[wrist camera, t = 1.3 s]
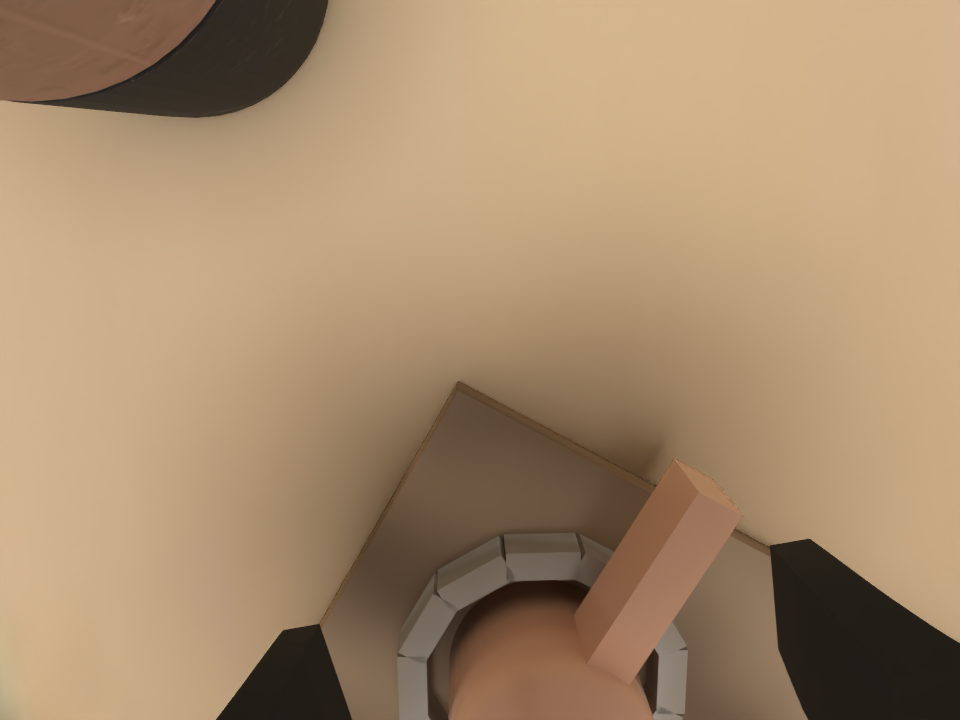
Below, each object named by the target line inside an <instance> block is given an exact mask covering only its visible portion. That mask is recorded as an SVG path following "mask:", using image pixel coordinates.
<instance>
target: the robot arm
mask: <svg viewBox="0 0 960 720" xmlns="http://www.w3.org/2000/svg"><path fill="white" fill-rule="evenodd" d="M770 554H771V566H772V579H773V591H774V603H775V616H776V628H777V640H778V650H779V652H780V655H781V657H782V660H783V662H784V665H785V667H786V670H787V673H788V675H789V678H790V680H791V683H792V685H793V687H794V690H795V692H796V695H797V697H798V699H799V702H800V704H801V707H802V709H803V711H804V713H805V715H806V717H807V719H808V720H960V643H958V642H957V641H955V640H953V639H952V638H950V637H948V636H947V635H945V634H944V633H942V632H940V631H939V630H937V629H936V628H934V627H933V626H931V625H930V624H928V623H927V622H925V621H924V620H922V619H921V618H919V617H918V616H916V615H915V614H913V613H912V612H910V611H909V610H907V609H906V608H905V607H903V606H902V605H900V604H899V603H897V602H896V601H894V600H893V599H891V598H890V597H889V596H887V595H886V594H884V593H883V592H882V591H880V590H879V589H877V588H876V587H875V586H873V585H872V584H870V583H869V582H868V581H866V580H865V579H864V578H862V577H861V576H859V575H858V574H857V573H855V572H854V571H853V570H851V569H850V568H849V567H847V566H846V565H845V564H843V563H842V562H841V561H839V560H838V559H837V558H835V557H834V556H833V555H831V554H830V553H829V552H827V551H826V550H824V549H823V548H822V547H820V546H819V545H818V544H816V543H815V542H813V541H812V540H811V539H805V540H799V541H793V542H788V543H782V544H776V545H770ZM216 720H352V717H351V715H350V712H349V709H348V706H347V703H346V700H345V697H344V694H343V691H342V688H341V685H340V682H339V679H338V676H337V674H336V671H335V668H334V665H333V662H332V659H331V656H330V653H329V650H328V647H327V644H326V641H325V638H324V635H323V633H322V630H321V627H320V624H317V625H311V626H305V627H300V628H294V629H288V630H283V631H282V632H281V634H280V635H279V636H278V638H277V639H276V640H275V641H274V643H273V644H272V645H271V647H270V648H269V650H268V651H267V652H266V654H265V655H264V656H263V658H262V659H261V660H260V662H259V663H258V664H257V666H256V667H255V668H254V670H253V671H252V673H251V674H250V675H249V677H248V678H247V679H246V681H245V682H244V683H243V685H242V686H241V687H240V689H239V690H238V691H237V693H236V694H235V695H234V697H233V698H232V699H231V701H230V702H229V703H228V705H227V706H226V707H225V709H224V710H223V711H222V712H221V714H220V715H219V716H218V718H217V719H216Z"/></svg>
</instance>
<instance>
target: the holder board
mask: <svg viewBox="0 0 960 720" xmlns="http://www.w3.org/2000/svg"><path fill="white" fill-rule="evenodd" d="M655 488H656V487H655V486H653V485H651V484H650V483H648V482H646V481H644V480H642V479H640V478H638V477H636V476H635V475H633V474H631V473H629V472H627V471H625V470H623V469H622V468H620V467H618V466H616V465H614V464H612V463H610V462H608V461H607V460H605V459H603V458H601V457H599V456H597V455H595V454H594V453H592V452H590V451H588V450H586V449H584V448H582V447H580V446H579V445H577V444H575V443H573V442H571V441H569V440H567V439H566V438H564V437H562V436H560V435H558V434H556V433H554V432H552V431H551V430H549V429H547V428H545V427H543V426H541V425H539V424H538V423H536V422H534V421H532V420H530V419H528V418H526V417H524V416H523V415H521V414H519V413H517V412H515V411H513V410H511V409H510V408H508V407H506V406H504V405H502V404H500V403H498V402H496V401H495V400H493V399H491V398H489V397H487V396H485V395H483V394H482V393H480V392H478V391H476V390H474V389H472V388H470V387H468V386H467V385H465V384H463V383H461V382H459V381H458V383H457V384H456V386H455V388H454V390H453V391H452V393H451V395H450V397H449V398H448V400H447V402H446V404H445V405H444V407H443V409H442V411H441V412H440V414H439V416H438V418H437V419H436V421H435V423H434V425H433V426H432V428H431V430H430V432H429V433H428V435H427V437H426V439H425V440H424V442H423V444H422V446H421V447H420V449H419V451H418V453H417V454H416V456H415V458H414V460H413V461H412V463H411V465H410V467H409V468H408V470H407V472H406V474H405V475H404V477H403V479H402V481H401V482H400V484H399V486H398V488H397V489H396V491H395V493H394V495H393V496H392V498H391V500H390V502H389V503H388V505H387V507H386V509H385V510H384V512H383V514H382V516H381V517H380V519H379V521H378V523H377V524H376V526H375V528H374V530H373V531H372V533H371V535H370V537H369V538H368V540H367V542H366V544H365V545H364V547H363V549H362V551H361V552H360V554H359V556H358V558H357V559H356V561H355V563H354V565H353V566H352V568H351V570H350V572H349V573H348V575H347V577H346V579H345V580H344V582H343V584H342V586H341V587H340V589H339V591H338V593H337V594H336V596H335V598H334V600H333V601H332V603H331V605H330V607H329V608H328V610H327V612H326V614H325V615H324V617H323V619H322V621H321V622H320V627H321V630H322V633H323V635H324V638H325V641H326V644H327V647H328V650H329V653H330V656H331V659H332V662H333V665H334V668H335V671H336V674H337V676H338V679H339V682H340V685H341V688H342V691H343V694H344V697H345V700H346V703H347V706H348V709H349V712H350V715H351V717H352V720H448V709H449V666H450V650H451V645H452V641H453V638H454V635H455V632H456V630H457V628H458V626H459V625H460V623H461V621H462V620H463V618H464V617H465V615H466V614H467V613H468V612H469V611H470V610H471V608H472V607H473V606H474V605H475V604H477V603H478V602H479V601H480V600H481V599H483V598H484V597H485V596H487V595H488V594H490V593H492V592H493V591H495V590H497V589H499V588H502V587H504V586H506V585H509V584H512V583H515V582H520V581H538V580H557V581H563V582H567V583H570V584H573V585H576V586H578V587H581V588H583V589H585V590H587V591H588V592H589V591H590V589H591V588H592V586H593V585H594V583H595V581H596V580H597V578H598V577H599V575H600V574H601V572H602V571H603V569H604V567H605V566H606V564H607V563H608V561H609V560H610V558H611V557H612V555H613V553H614V552H615V550H616V549H617V547H618V546H619V544H620V543H621V541H622V539H623V538H624V536H625V535H626V533H627V532H628V530H629V529H630V527H631V525H632V524H633V522H634V521H635V519H636V518H637V516H638V515H639V513H640V511H641V510H642V508H643V507H644V505H645V504H646V502H647V500H648V499H649V497H650V496H651V494H652V493H653V491H654V490H655ZM638 675H639V678H640V681H641V684H642V687H643V690H644V692H645V695H646V698H647V701H648V704H649V707H650V709H651V712H652V715H653V718H654V720H808V719H807V717H806V715H805V713H804V711H803V709H802V707H801V704H800V702H799V699H798V697H797V695H796V692H795V690H794V687H793V685H792V683H791V680H790V678H789V675H788V673H787V670H786V667H785V665H784V662H783V660H782V657H781V655H780V652H779V650H778V640H777V628H776V616H775V603H774V591H773V579H772V566H771V554H770V548H769V547H767V546H765V545H763V544H762V543H760V542H758V541H756V540H754V539H752V538H750V537H749V536H747V535H745V534H743V533H741V532H739V531H737V530H735V529H734V530H733V532H732V533H731V535H730V536H729V538H728V539H727V541H726V542H725V544H724V545H723V547H722V548H721V550H720V551H719V553H718V554H717V556H716V557H715V559H714V560H713V562H712V563H711V564H710V566H709V567H708V569H707V570H706V572H705V573H704V575H703V576H702V578H701V579H700V581H699V582H698V584H697V585H696V587H695V588H694V590H693V591H692V593H691V594H690V596H689V597H688V599H687V600H686V602H685V603H684V605H683V606H682V608H681V609H680V611H679V612H678V614H677V615H676V617H675V618H674V620H673V621H672V623H671V624H670V626H669V627H668V629H667V630H666V631H665V633H664V634H663V636H662V637H661V639H660V640H659V642H658V643H657V645H656V646H655V648H654V649H653V651H652V652H651V654H650V655H649V657H648V658H647V660H646V661H645V663H644V664H643V666H642V667H641V669H640V670H639V672H638Z"/></svg>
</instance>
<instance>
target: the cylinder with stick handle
mask: <svg viewBox="0 0 960 720" xmlns="http://www.w3.org/2000/svg"><path fill="white" fill-rule="evenodd" d="M742 517H743V515H742V514H741V513H740V512H739V510H738V509H737V508H736V507H735V505H734V504H733V503H732V502H731V501H730V499H729V498H728V497H727V496H726V494H725V493H724V492H723V491H722V490H721V488H720V487H719V486H718V485H717V483H716V482H715V481H714V480H712V479H711V478H709V477H707V476H705V475H703V474H701V473H699V472H698V471H696V470H694V469H692V468H690V467H688V466H687V465H685V464H683V463H681V462H679V461H677V460H676V459H674V460H673V462H672V463H671V465H670V466H669V468H668V469H667V471H666V472H665V474H664V476H663V477H662V479H661V480H660V482H659V483H658V485H657V486H656V488H655V490H654V491H653V493H652V494H651V496H650V497H649V499H648V500H647V502H646V504H645V505H644V507H643V508H642V510H641V511H640V513H639V515H638V516H637V518H636V519H635V521H634V522H633V524H632V525H631V527H630V529H629V530H628V532H627V533H626V535H625V536H624V538H623V539H622V541H621V543H620V544H619V546H618V547H617V549H616V550H615V552H614V553H613V555H612V557H611V558H610V560H609V561H608V563H607V564H606V566H605V567H604V569H603V571H602V572H601V574H600V575H599V577H598V578H597V580H596V581H595V583H594V585H593V586H592V588H591V589H590V591H589V592H588V591H587V590H585V589H583V588H581V587H578V586H576V585H573V584H570V583H567V582H563V581H557V580H538V581H520V582H515V583H512V584H509V585H506V586H504V587H502V588H499V589H497V590H495V591H493V592H492V593H490V594H488V595H487V596H485V597H484V598H483V599H481V600H480V601H479V602H478V603H477V604H475V605H474V606H473V607H472V608H471V610H470V611H469V612H468V613H467V614H466V615H465V617H464V618H463V620H462V621H461V623H460V625H459V626H458V628H457V630H456V632H455V635H454V638H453V641H452V645H451V650H450V666H449V709H448V720H654V718H653V715H652V712H651V709H650V707H649V704H648V701H647V698H646V695H645V692H644V690H643V687H642V684H641V681H640V678H639V675H638V672H639V670H640V669H641V667H642V666H643V664H644V663H645V661H646V660H647V658H648V657H649V655H650V654H651V652H652V651H653V649H654V648H655V646H656V645H657V643H658V642H659V640H660V639H661V637H662V636H663V634H664V633H665V631H666V630H667V629H668V627H669V626H670V624H671V623H672V621H673V620H674V618H675V617H676V615H677V614H678V612H679V611H680V609H681V608H682V606H683V605H684V603H685V602H686V600H687V599H688V597H689V596H690V594H691V593H692V591H693V590H694V588H695V587H696V585H697V584H698V582H699V581H700V579H701V578H702V576H703V575H704V573H705V572H706V570H707V569H708V567H709V566H710V564H711V563H712V562H713V560H714V559H715V557H716V556H717V554H718V553H719V551H720V550H721V548H722V547H723V545H724V544H725V542H726V541H727V539H728V538H729V536H730V535H731V533H732V532H733V530H734V529H735V527H736V526H737V524H738V523H739V521H740V520H741V518H742Z"/></svg>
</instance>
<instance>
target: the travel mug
mask: <svg viewBox="0 0 960 720" xmlns="http://www.w3.org/2000/svg"><path fill="white" fill-rule="evenodd" d="M327 2H328V0H0V100H6V101H12V102H21V103H31V104H42V105H52V106H63V107H74V108H84V109H95V110H105V111H116V112H126V113H137V114H147V115H158V116H173V117H195V118H197V117H209V116H219V115H223V114H228V113H232V112H236V111H239V110H241V109H244V108H246V107H249V106H252V105H254V104H256V103H257V102H259V101H261V100H263V99H264V98H266V97H268V96H269V95H271V94H272V93H273V92H275V91H276V90H277V89H279V88H280V87H281V86H283V85H284V84H285V83H286V82H287V81H288V80H289V79H290V78H291V77H292V75H293V74H294V73H295V72H296V71H297V70H298V68H299V67H300V66H301V64H302V63H303V62H304V60H305V59H306V58H307V56H308V54H309V52H310V50H311V49H312V47H313V45H314V43H315V41H316V39H317V36H318V34H319V31H320V29H321V26H322V24H323V20H324V16H325V12H326V8H327Z"/></svg>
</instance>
